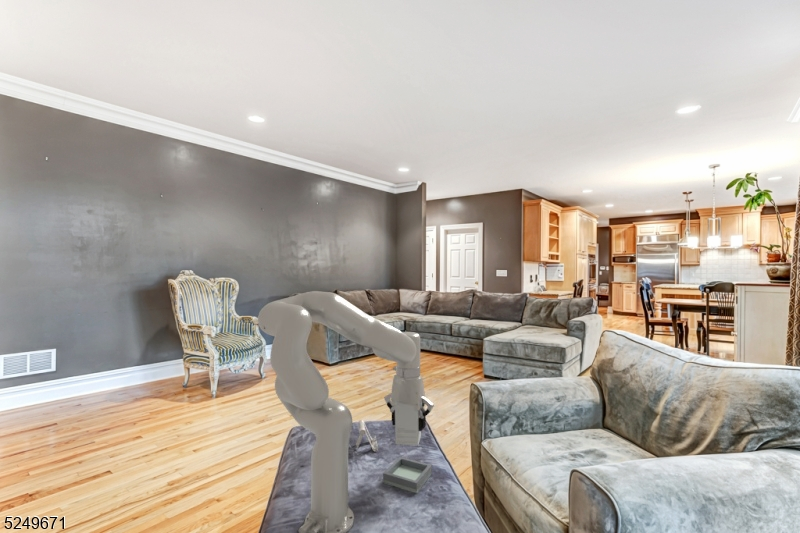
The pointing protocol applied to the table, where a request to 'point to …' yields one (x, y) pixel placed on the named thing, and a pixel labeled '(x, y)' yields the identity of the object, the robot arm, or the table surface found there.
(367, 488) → the table surface
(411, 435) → the supplement box
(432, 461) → the table surface
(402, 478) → the tray
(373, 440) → the portable electronic device stand
